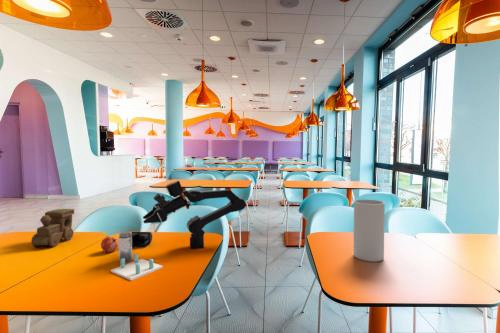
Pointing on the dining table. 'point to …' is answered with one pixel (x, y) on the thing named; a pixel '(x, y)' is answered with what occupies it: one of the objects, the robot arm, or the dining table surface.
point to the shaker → (125, 246)
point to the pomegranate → (109, 244)
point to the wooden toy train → (54, 228)
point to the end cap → (141, 239)
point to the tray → (132, 269)
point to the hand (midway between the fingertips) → (143, 220)
